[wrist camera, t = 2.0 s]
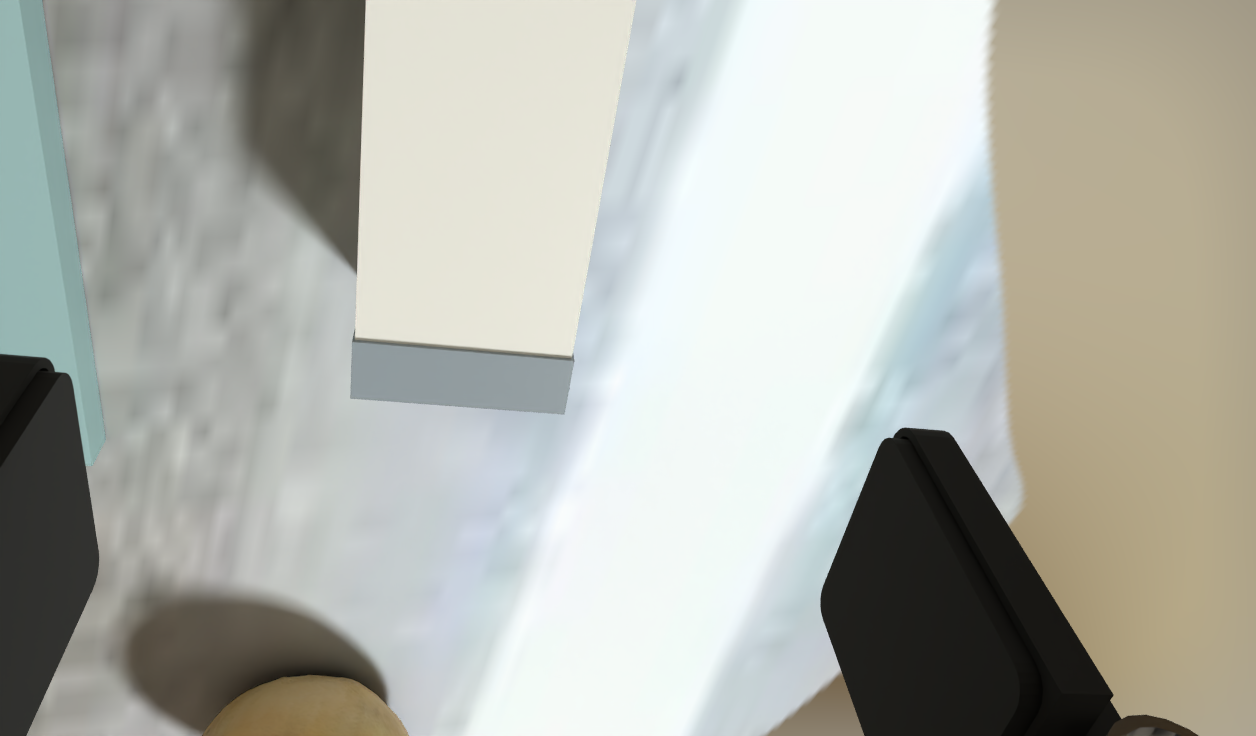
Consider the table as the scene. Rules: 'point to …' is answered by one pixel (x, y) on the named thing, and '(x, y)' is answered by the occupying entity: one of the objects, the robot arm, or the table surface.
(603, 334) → the table surface
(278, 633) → the table surface
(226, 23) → the table surface
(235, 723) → the onion
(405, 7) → the white pillar block
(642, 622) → the table surface
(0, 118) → the cradle
